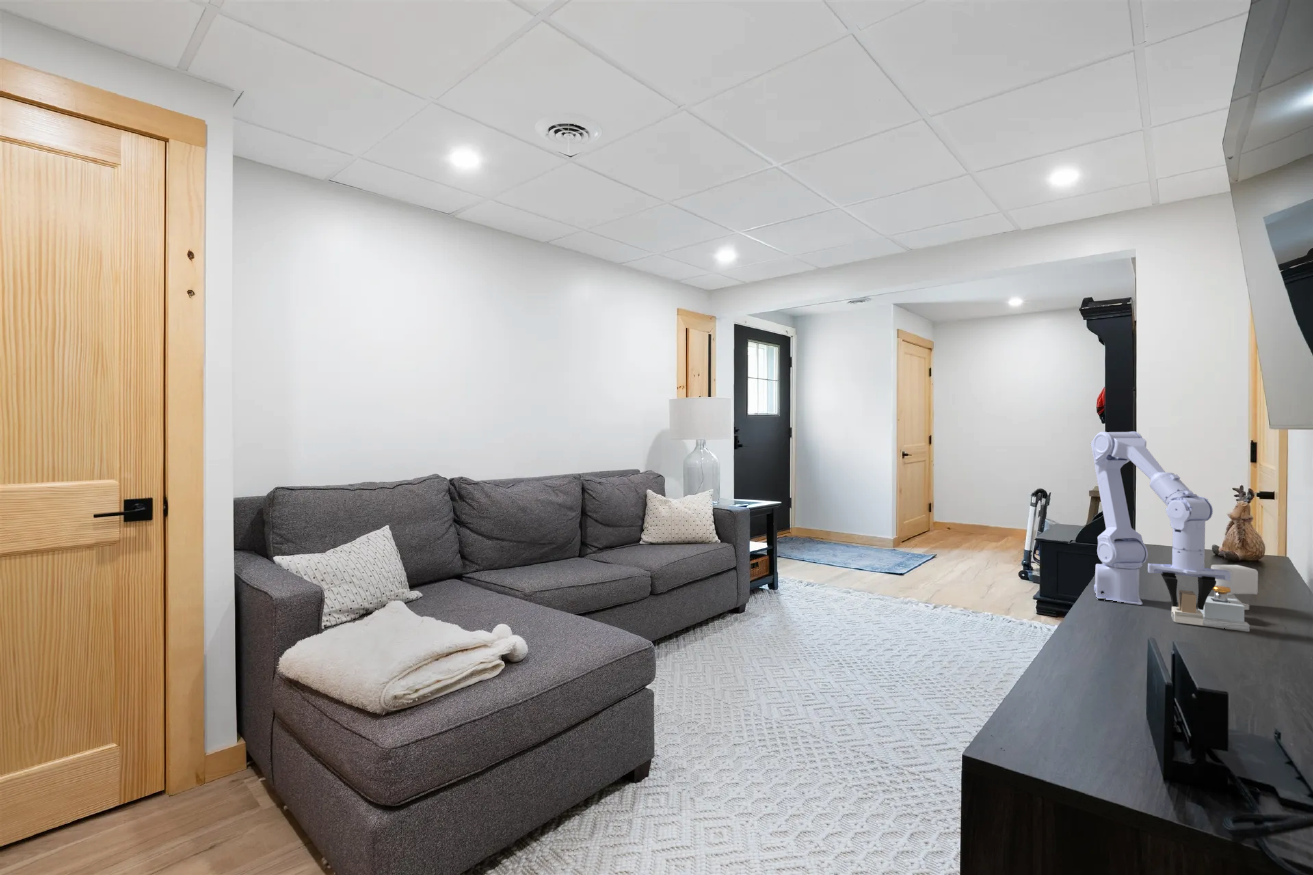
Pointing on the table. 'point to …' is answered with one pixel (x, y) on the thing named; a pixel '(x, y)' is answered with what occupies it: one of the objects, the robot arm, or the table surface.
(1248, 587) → the security camera
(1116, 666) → the table surface
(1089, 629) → the table surface
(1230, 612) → the grey square-hole block
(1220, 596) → the gold round knob
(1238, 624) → the rail
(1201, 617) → the carriage
